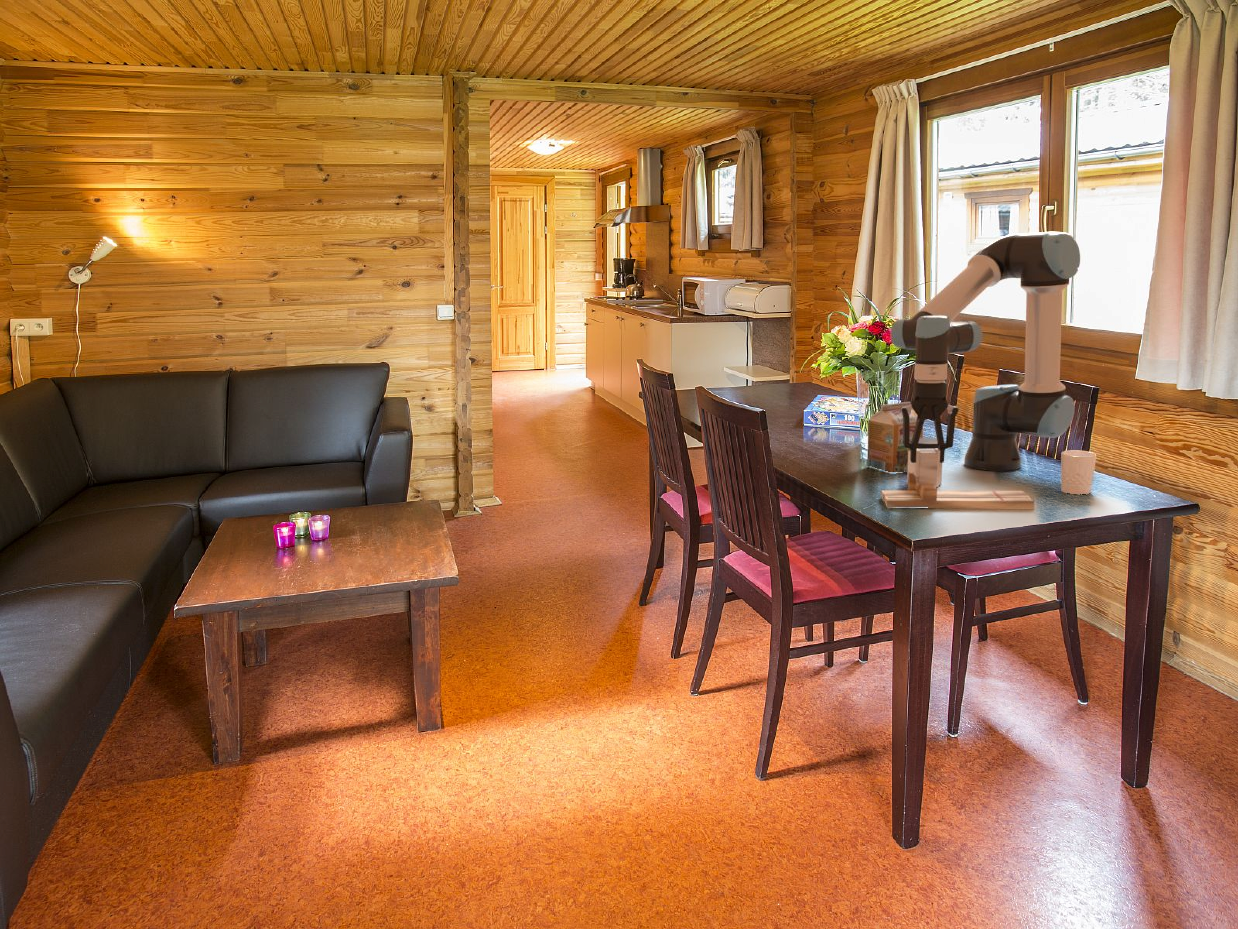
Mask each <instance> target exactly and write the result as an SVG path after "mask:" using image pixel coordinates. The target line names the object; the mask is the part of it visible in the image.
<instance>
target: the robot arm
mask: <svg viewBox="0 0 1238 929" xmlns="http://www.w3.org/2000/svg"><path fill="white" fill-rule="evenodd" d="M1080 252H1081V251H1080V248H1079V244H1078V242H1077V241H1076V240H1075V239H1074V237H1073V236H1072V235H1071V234H1070V233H1069V232H1061V231H1045V232H1043V231H1042V232H1029V233H1027V232H1025V233H1023V232H1019V233H1018V232H1017V233H1011V234H1007V235H1005V236H1002V237H1000V238H998V239H996V240H994V241H992V242H990V243H989V244H987V245H986V246H984V247H983V248H982V249H980V250H978V252H977V253H975V255H973V256H972V257H971V258H970V259H969V260H968V262H967V266H966V267H965V269H964V270H962V271H961V272H960V273H959V274H958V275H957V276H956V277H955V278H954V279H952V280H951V282H949V283H948V284H946V286H945V287H943V289H942V290H940V291H939V292H938V293H937V294H936V295H935V296H934V297H933V298H932V299H930V300H929V302H927V303H926V304H925V305H924V306H923V307H922V308H921V309H920V310H919V311H918V312H916V314H915V315H913V316H912V317H911V318H909V319H908V318H903V319H902V318H901V319H898V320H896V321H894V323H893V325H892V326H891V329H890V340H891V342H892V344H893V345H894V347H896V348H899V349H904V350H905V349H906V350H909V351H910V350H911V351H914V350H915V358H914V372H913V377H914V378H913V379H914V380H916V381H915V382H914V383H913V398H912V401H910V402H911V405H908V406H906V407H901V408H900V410H901V412H902V415H903V445H904V446H905V447H906V448H909V449H910V460H911V462H912V463H914V475H915V476H916V477H919V462H920V450H919V449H918V448H917V446H918V442H919V439H920V435H921V431H922V427H923V428H924V423H925V421H926V420H933V426H934V430H935V437H936V439H937V443H938V448H935V450H936V451H937V452H938V462H937V477H939V467H940V463H942V464H943V463H945V462H944V461H945V451H946V450H947V449H951V448H953V446H954V438H955V437H954V436H955V429H956V428H955V427H956V425H955V424H956V417H957V415H958V413H959V410H960V409H959V408H958V406H956V405H950V404H949V403H948V401H947V391H948V390H947V386H948V383H947V382H946V380H947V379H948V363H949V355H950V354H951V355H952V354H959V353H964V354H966V353H968V352H971V351H974V350H976V349H978V348H979V347H980V345H981V343H982V342H983V331H982V328H981V327H980V325H979V324H978V323H977V322H975V321H972V320H961V321H953V320H954V319H955V318H956V317H957V316H958V315H959V314H960V313H962V312H963V310H965V309H966V308H967V307H968V306H969V305H970V304H971V303H973V301H974V300H975V299H977V297H979V295H981V294H982V293H983V292H984V291H985V290H986V289H987V288H990V287H994V286H995V285H997V284H998V283H1000V281H1002V280H1007V279H1020V288H1021V289H1023V290H1024V291H1025V292H1026V302H1025V303H1026V305H1025V306H1026V307H1025V309H1026V310H1025V314H1026V315H1025V347H1024V348H1025V352H1024V380H1023V381H1024V382H1022V384H1020V385H1018V384H1000V385H999V384H997V385H989V386H982V387H978V388H977V389H975V392H974V398H973V403H972V404H973V414H972V416H973V417H972V435H971V440H970V443H969V445H968V448H967V450H966V453H965V454H964V463H963V464H964V465H965V467H968V468H971V469H975V470H981V471H988V472H990V471H991V472H992V471H993V472H1001V471H1002V472H1006V471H1015V470H1018V469H1021V467H1022V458H1021V457H1022V456H1021V454H1020V453H1021V452H1020V449H1019V446H1018V443H1017V434H1019V435H1020V434H1021V435H1027V436H1034V437H1039V438H1043V439H1044V438H1050V439H1051V438H1052V439H1055V438H1058V437H1061V436H1062V435H1063V434H1065V433H1066V432H1067V430H1068V429H1069V428H1070V426H1071V424H1072V422H1073V420H1074V415H1075V409H1076V407H1075V406H1076V405H1075V401H1074V399H1073V397H1071V396H1069V395H1067V394H1066V385H1065V384H1063V383H1062V382H1061V380H1060V377H1061V376H1060V375H1061V354H1062V353H1061V348H1062V347H1061V345H1062V322H1063V321H1062V318H1063V317H1062V316H1063V313H1062V312H1063V291H1064V289H1066V288H1067V287H1068V286H1069V285H1070V279H1071V278H1073V277H1074V276H1075V275H1077V273H1078V270H1079V269H1078V268H1080V264H1081V253H1080ZM912 409H913V410H914V411H915V412H916V414H917V415H918V416H917V422H916V426H915V429H914V433H913V437H912V441H911V443H910V419H909V415H910V414H911V410H912ZM946 410H947V412H946V413H947V414H948V415H947V427H946V435H945V436H946V437H945V439H944V434H943V433H944V432H943V428H942V420H941V416H942V415H943V413H944V412H945V411H946Z"/></svg>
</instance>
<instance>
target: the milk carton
mask: <svg viewBox="0 0 1238 929" xmlns="http://www.w3.org/2000/svg"><path fill="white" fill-rule="evenodd" d="M911 402H912V401H905V402H896V403H890V404H889V403H888V404H882V405H881V406H880V410H879V411H877V412H875V413H874V414H873V415H871V417H870V418H869V419H868V422H867V424H868V425H867V428H868V429H867V430H868V431H867V461H866V463H867V464H866V465H868V466H872V467H875V468H877V469H882V470H885V471H888V472H904V471H908V451H909V450H910V449H909V448H906V447H905V446H904V445H903V415H902V412H901V410H900V408H901V407H906V406H908V405H911ZM917 416H918V415H917V414H916V412H915V411H914V410H913V409H912V410H911V414H910V415H909V419H910V440H911V439H912V437H913V433H914V429H915V426H916V422H917ZM923 436H924V426H923V427H922V431H921V435H920V438H924V437H923Z"/></svg>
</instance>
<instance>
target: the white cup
mask: <svg viewBox="0 0 1238 929" xmlns="http://www.w3.org/2000/svg"><path fill="white" fill-rule="evenodd" d="M1060 456H1061V458H1060V461H1061V462H1060V472H1061V473H1060V474H1061V475H1060V481H1061V484H1060V486H1061V487H1060V490H1061V492H1062V493H1064V494H1067V493H1070V494H1069V495H1073V494H1077V495H1076V496H1083V495H1082V494H1086V495H1089V493H1090V494H1091V492H1092V483H1093V480H1094V475H1095V468H1096V460H1097V454H1096V453H1095V452H1092V451H1086V450H1080V449H1079V450H1076V449H1075V450H1074V449H1070V450H1064V451H1062V452H1061V455H1060ZM1080 494H1081V495H1080Z"/></svg>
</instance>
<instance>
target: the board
mask: <svg viewBox="0 0 1238 929" xmlns="http://www.w3.org/2000/svg"><path fill="white" fill-rule="evenodd" d="M881 496H882V498H883V500H884V502H885V503H886V506H887V507H928V508H947V509H946V510H951V509H952V510H1034V508H1035V500H1033V498H1031V497H1030V496H1029V495H1028V494H1027V493H1025V492H1024V491H1023V490H937V501H924V500H923V499H922V497H921V496H920V495H919V493H918V492H917V490H908V489H907V490H905V489H904V490H902V489H901V490H897V489H896V490H891V489H888V490H887V489H886V490H883V489H882V490H881ZM881 496H880V497H881ZM882 498H881V499H882ZM883 500H882V501H883ZM884 502H883V503H884ZM886 506H885V507H886Z"/></svg>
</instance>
